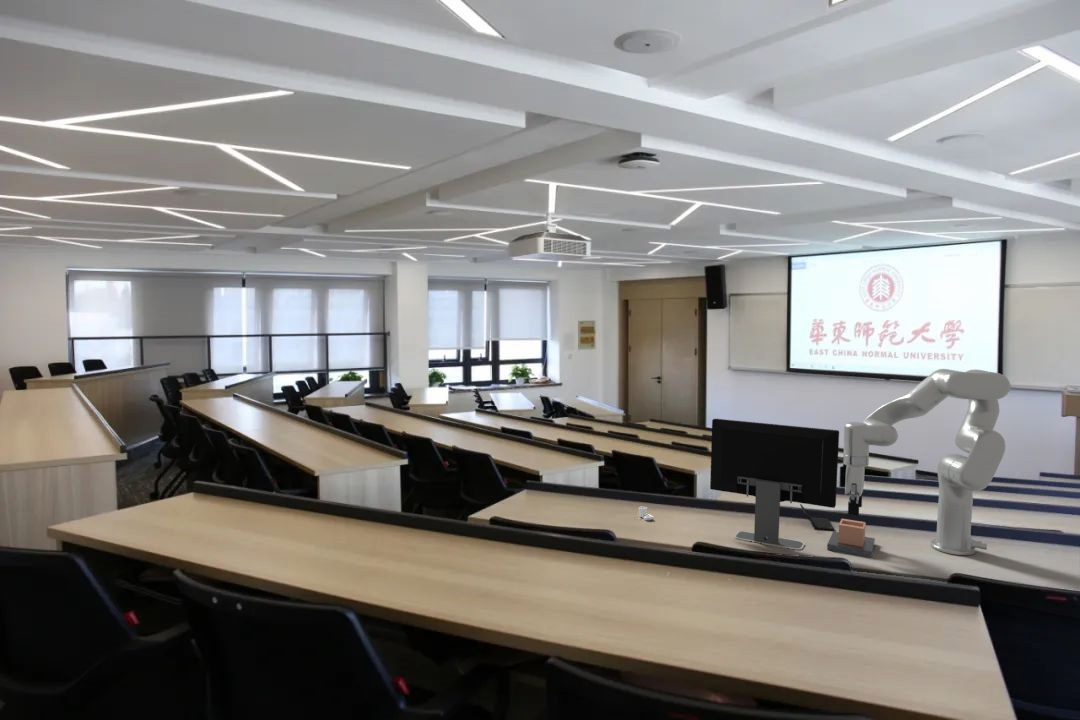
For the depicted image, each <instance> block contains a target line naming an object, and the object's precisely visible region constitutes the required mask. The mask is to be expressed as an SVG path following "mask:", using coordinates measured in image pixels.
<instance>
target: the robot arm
mask: <svg viewBox="0 0 1080 720" xmlns="http://www.w3.org/2000/svg"><path fill="white" fill-rule="evenodd" d="M1010 391H1011V382H1010V380H1009V379H1008V378H1007V376H1005V375H1003V374H1001V373H999V372H992V371H988V370H983V369H982V370H981V369H969V370H966V371H959V370H953V369H948V368H940V369H937V370H935V371H933V372H932V373H930V374H929V375H927V377H926V378H924V379H923V380H922V381H921V382H919V383H918V384H917V385H916V386H914V387H913V388H912V389H911V390H909V392H907V393H906V394H904V395H901V397H898V398H896V399H894V400H892V401H890V402H887V403H886V404H885V403H884V404H883V405H882V406H880V407H879V408H877V409H876V410H874V411H872V413H871V414H869V415H868V416H867V417H866V418H865V419H864V420H863V421H862V422H861V421H849V422H847V423H845V424H844V427H843V457H842V458H843V461H842V463H843V465H845V466H846V467H845V468H846V469H845V484H844V495H845V496H847V495H848V502H847V514H848V515H849V516H859V515H860V508H862V507H863V495H862V494H863V493H864V485H865V471H866V470H865V467H869V465H870V464H869V463H870V461H869V460H870V457H869V455H870V446H875V447H890V446H893V445H894V444H895V443H896V442H897V440H898V438H899V433H898V430H897V429H896V428H895V427H894V424H896V423H899V422H901V421H903V420H908V419H915V418H918V417H920V418H921V417H923V416H925V415H927V414H928V413H930V412H931V411H932V410H933V409H934V408H935V407H936V406H938V405H939V404H940V403H942V402H943V401H944V400H946V399H947V398H948V397H950V398H955V399H960V400H961V399H962V400H968V408H967V411H966V413H965V415H964V418H963V420H962V422H961V425H960V426H959V429H958V430H957V433H956V435H955V439H954V443H955V445H956V447H957V448H958V449H959V450H960V451H962V452H965V453H967V454H968V456H965V455H963V454H958V453H948V454H946V455H944V456H943V457H941V458H940V459H939V461H938V463H937V467H936V469H937V480H938V500H937V501H938V503H937V519H936V520H937V523H936V535H935V536H936V537H935V538H934V539H932V540H930V547H932V548H933V549H934V550H936V551H939V552H942V553H945V554H951V555H956V556H970V555H971V556H972V555H974V554H975V553H976V549H980V550H985V551H986V550H987V549H988V545H987V543H984V542H982V541H981V540H974V539H972V535H971V531H972V518H973V517H972V516H973V505H974V503H973V501H974V498H973V497H974V495H973V492H980V491H983V490H984V489H986V488H987V487H988V486H989V485H990V484H991V482H992V480H993V478H994V476H995V474H996V473H997V470H998V468H999V466H1000V463H1001V462H1002V460H1003V457H1004V455H1005V452H1006V441H1005V438H1004V437H1003V436H1002V434H1001V433H1000V432H998V431H996V430H994V428H995V426H996V423H997V421H998V417H999V416H1000V404H999V400H1001V399H1004V398H1005V397H1006V396H1007V395H1009V392H1010Z"/></svg>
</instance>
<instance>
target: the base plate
mask: <svg viewBox="0 0 1080 720" xmlns="http://www.w3.org/2000/svg"><path fill="white" fill-rule="evenodd" d="M838 536H839V531H835V530H834V531H832V533H831V535H830V537H829V540H828V542H827V549H826V550H827V551H833V552H836V553H837V552H838V553H843V554H849V555H852V556H853V555H854V556H860V557H866V558H872V556H873V553H874V548H875V543H876V538H875V537H871V536H870V537H868V536H865V541H864V545H863V547H862V546H856V545H850V544H845V543H839V542H838Z"/></svg>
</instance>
